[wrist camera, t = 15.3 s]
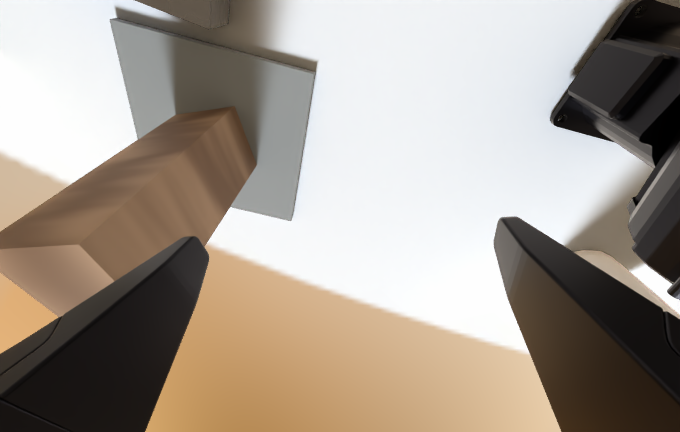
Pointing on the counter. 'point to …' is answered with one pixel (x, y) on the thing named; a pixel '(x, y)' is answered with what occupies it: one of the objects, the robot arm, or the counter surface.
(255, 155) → the mat
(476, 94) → the counter surface
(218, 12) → the collar
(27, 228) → the walnut peg
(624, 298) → the robot arm
